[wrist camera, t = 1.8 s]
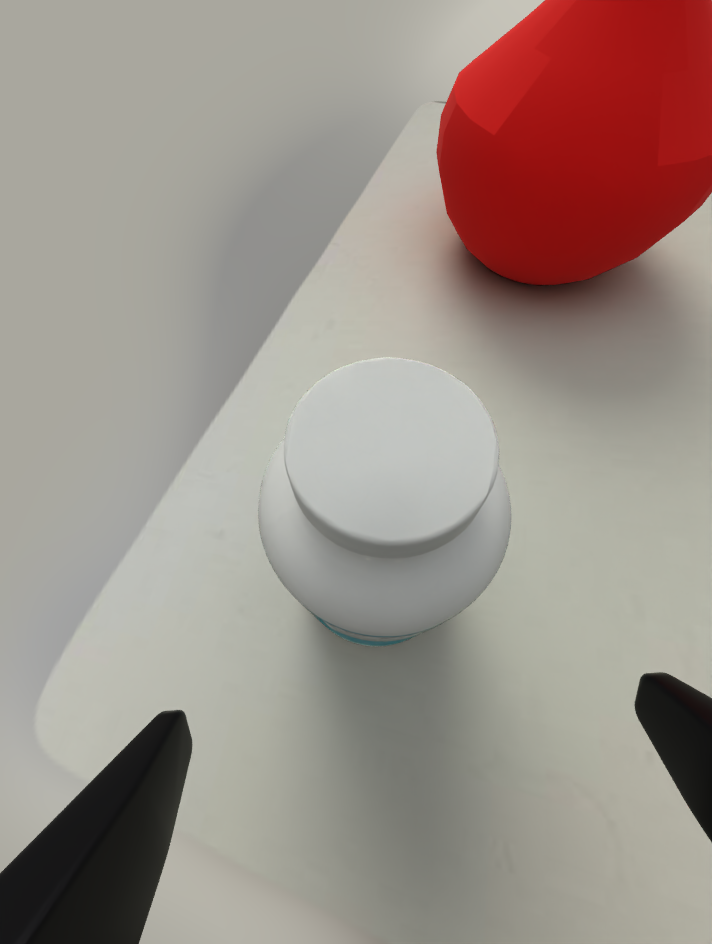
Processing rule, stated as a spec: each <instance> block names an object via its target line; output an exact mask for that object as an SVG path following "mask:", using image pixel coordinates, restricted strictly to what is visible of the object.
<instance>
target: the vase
mask: <svg viewBox="0 0 712 944" xmlns="http://www.w3.org/2000/svg"><path fill="white" fill-rule="evenodd" d="M437 159H438V166H439V173H440V178H441V183H442V189H443V194H444V200H445V205H446V210H447V214H448V216H449V218H450V220H451V222H452V223H453V225H454V227H455V229H456V231H457V233H458V235H459V236H460V238H461V240H462V241H463V243H464V245H465V247H466V248H467V249H468V250H469V251H470V252H471V253H472V254H473V255H474V256H475V257H476V258H477V259H478V260H480V261H481V262H482V263H483V264H484V265H485V266H486V267H488V268H489V269H490V270H492V271H494V272H496V273H497V274H499V275H501V276H503V277H506V278H509V279H511V280H514V281H517V282H522V283H527V284H533V285H557V284H564V283H570V282H575V281H581V280H587V279H590V278H592V277H594V276H597V275H599V274H601V273H603V272H606V271H608V270H610V269H612V268H615V267H617V266H619V265H621V264H624V263H626V262H628V261H630V260H633V259H635V258H637V257H638V256H640V255H641V254H642V253H643V252H645V251H646V250H647V249H649V248H650V247H651V246H653V245H654V244H655V243H656V242H658V241H659V240H660V239H662V238H663V237H664V236H666V235H667V234H668V233H669V232H671V231H672V230H673V229H675V228H676V227H677V226H679V225H680V224H681V223H683V222H684V221H685V220H686V219H687V218H688V217H689V216H691V215H692V214H693V213H694V212H695V211H696V210H697V209H698V208H699V207H701V206H702V204H703V203H704V202H705V200H706V199H707V198H708V197H709V195H710V194H711V193H712V0H545V1H544V2H543V3H541V4H540V5H539V6H538V7H537V8H536V9H535V10H534V11H532V12H531V13H530V14H529V15H528V16H527V17H525V19H523V20H522V21H521V22H519V23H518V24H517V25H516V26H515V27H514V28H512V29H511V30H510V31H509V32H507V33H506V34H505V35H504V36H502V37H501V38H500V39H499V40H498V41H496V42H495V43H494V44H493V45H491V46H490V47H489V48H488V49H487V50H485V51H484V52H483V53H482V54H481V55H479V56H478V57H477V58H476V59H474V60H473V61H472V62H471V63H470V64H469V65H467V66H466V67H465V68H464V69H463V70H462V71H461V72H460V73H459V74H458V77H457V79H456V81H455V84H454V86H453V88H452V91H451V93H450V95H449V98H448V100H447V102H446V105H445V107H444V109H443V112H442V114H441V121H440V129H439V137H438V144H437Z"/></svg>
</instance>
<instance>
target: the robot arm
mask: <svg viewBox="0 0 712 944" xmlns="http://www.w3.org/2000/svg"><path fill="white" fill-rule="evenodd" d="M635 711H636V714H637V717H638V719H639V721H640V723H641V724H642V726H643V728H644V730H645V731H646V733H647V735H648V737H649V738H650V740H651V742H652V744H653V745H654V747H655V749H656V751H657V753H658V754H659V756H660V758H661V760H662V761H663V763H664V765H665V767H666V768H667V770H668V772H669V774H670V775H671V777H672V779H673V781H674V783H675V784H676V786H677V788H678V790H679V791H680V793H681V795H682V796H683V798H684V800H685V801H686V803H687V805H688V806H689V808H690V810H691V811H692V813H693V814H694V816H695V818H696V819H697V821H698V822H699V824H700V825H701V827H702V828H703V830H704V831H705V833H706V834H707V836H708V837H709V839H710V840H711V842H712V698H710V697H708V696H707V695H705V694H703V693H701V692H700V691H698V690H696V689H694V688H693V687H691V686H689V685H687V684H685V683H684V682H682V681H680V680H678V679H677V678H675V677H673V676H671V675H669V674H667V673H662V672H659V673H646V674H644V675H642V676H641V678H640V682H639V686H638V691H637V695H636V700H635ZM191 753H192V738H191V734H190V730H189V726H188V723H187V719H186V715H185V713H184V712H183V711H182V710H173V711H164V712H161V713H160V714H158V715H157V716H156V717H155V718H154V719H153V720H152V721H151V722H150V723H149V724H148V725H147V726H146V727H145V728H144V729H143V730H142V731H141V732H140V733H139V734H138V735H137V736H136V737H135V738H134V739H133V740H132V741H131V742H130V743H129V744H128V745H127V746H126V747H125V748H124V749H123V750H122V751H121V752H120V753H119V754H118V755H117V756H116V757H115V758H114V759H113V760H112V761H111V762H110V763H109V764H108V765H107V766H106V767H105V768H104V769H103V770H102V771H101V772H100V773H99V774H98V775H97V776H96V777H95V778H94V779H93V780H92V781H91V782H90V783H89V784H88V785H87V786H86V787H85V789H83V790H82V791H81V792H80V793H79V795H78V796H76V797H75V799H74V800H73V801H72V802H71V803H70V804H69V805H68V806H67V807H66V808H65V809H64V810H63V811H62V812H61V813H60V814H59V815H58V816H57V817H56V818H55V819H54V820H53V821H52V822H51V823H50V824H49V825H48V826H47V827H46V828H45V829H44V830H43V831H42V832H41V833H40V834H39V835H38V836H37V837H36V838H35V839H34V840H33V841H32V842H31V843H30V844H29V845H28V846H27V847H26V848H25V849H24V850H23V851H22V852H21V853H20V854H19V855H18V856H17V857H16V858H15V859H14V860H13V861H12V862H11V863H10V864H9V865H8V866H7V867H6V868H5V869H4V870H3V871H2V872H1V873H0V944H139V941H140V938H141V935H142V932H143V929H144V925H145V922H146V919H147V916H148V913H149V910H150V907H151V904H152V901H153V898H154V895H155V892H156V889H157V885H158V883H159V879H160V876H161V873H162V870H163V867H164V863H165V860H166V857H167V853H168V850H169V846H170V842H171V838H172V834H173V829H174V825H175V821H176V817H177V813H178V808H179V804H180V800H181V796H182V791H183V787H184V783H185V779H186V775H187V770H188V766H189V762H190V758H191Z"/></svg>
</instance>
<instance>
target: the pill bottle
mask: <svg viewBox="0 0 712 944" xmlns="http://www.w3.org/2000/svg"><path fill="white" fill-rule="evenodd" d="M258 519H259V528H260V535H261V539H262V543H263V546H264V549H265V552H266V555H267V557H268V559H269V562H270V564H271V566H272V568H273V569H274V571H275V573H276V574H277V576H278V578H279V579H280V581H281V582H282V583H283V585H284V586H285V587H286V588H287V590H288V591H289V592H290V593H291V594H292V595H293V596H294V597H295V598H296V599H297V600H298V601H299V602H300V603H301V604H302V605H303V606H304V607H305V608H306V609H307V610H309V611H310V612H311V613H312V614H313V615H314V616H315V617H316V618H317V619H318V620H319V621H320V622H321V623H323V624H324V625H325V626H326V627H327V628H328V629H329V630H331V631H332V632H333V633H335V634H336V635H338V636H339V637H341V638H343V639H345V640H347V641H350V642H353V643H356V644H360V645H365V646H373V647H375V646H388V645H393V644H396V643H400V642H403V641H405V640H408V639H410V638H412V637H414V636H416V635H418V634H420V633H423V632H425V631H427V630H429V629H432V628H434V627H436V626H438V625H440V624H442V623H443V622H445V621H447V620H449V619H450V618H452V617H454V616H456V615H457V614H458V613H460V612H461V611H462V610H464V609H465V608H467V607H468V606H469V605H470V604H471V603H472V602H474V601H475V600H476V599H477V598H478V597H479V596H480V594H481V593H482V592H483V591H484V590H485V589H486V587H487V586H488V585H489V583H490V582H491V581H492V579H493V577H494V576H495V574H496V573H497V571H498V569H499V567H500V565H501V563H502V560H503V558H504V555H505V552H506V549H507V546H508V541H509V535H510V529H511V505H510V496H509V492H508V488H507V483H506V480H505V478H504V475H503V472H502V470H501V468H500V466H499V442H498V437H497V432H496V429H495V426H494V423H493V420H492V418H491V416H490V414H489V412H488V410H487V409H486V407H485V406H484V404H483V403H482V402H481V400H480V399H479V398H478V396H477V395H476V394H475V393H474V392H473V391H472V390H471V389H470V388H469V387H468V386H467V385H466V384H464V383H463V382H461V381H460V380H459V379H457V378H456V377H454V376H453V375H451V374H450V373H448V372H446V371H444V370H442V369H440V368H438V367H435V366H433V365H430V364H427V363H423V362H420V361H416V360H410V359H404V358H386V357H385V358H374V359H368V360H363V361H358V362H355V363H351V364H348V365H345V366H343V367H341V368H339V369H337V370H335V371H333V372H330V373H329V374H327V375H326V376H324V377H323V378H322V379H320V380H319V381H318V382H316V383H315V384H314V385H313V386H312V387H311V388H310V389H309V390H308V391H307V392H306V393H305V394H304V395H303V396H302V397H301V399H300V400H299V402H298V403H297V405H296V406H295V408H294V410H293V412H292V414H291V416H290V418H289V421H288V424H287V428H286V431H285V437H284V439H283V440H282V441H281V443H280V444H279V446H278V447H277V448H276V450H275V452H274V453H273V455H272V457H271V459H270V460H269V463H268V465H267V467H266V470H265V473H264V476H263V480H262V483H261V489H260V495H259V506H258Z"/></svg>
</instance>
